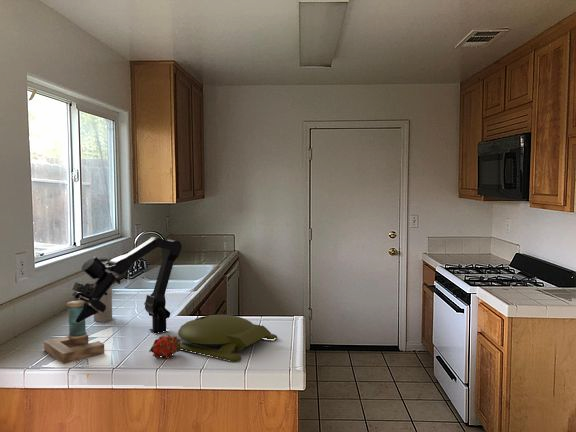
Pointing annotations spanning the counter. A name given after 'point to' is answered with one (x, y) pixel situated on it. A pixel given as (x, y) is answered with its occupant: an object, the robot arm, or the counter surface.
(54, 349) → the cutout shelf
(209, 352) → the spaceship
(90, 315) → the robot arm
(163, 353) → the dragon fruit
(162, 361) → the counter surface
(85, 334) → the cord reel
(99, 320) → the thermos bottle
